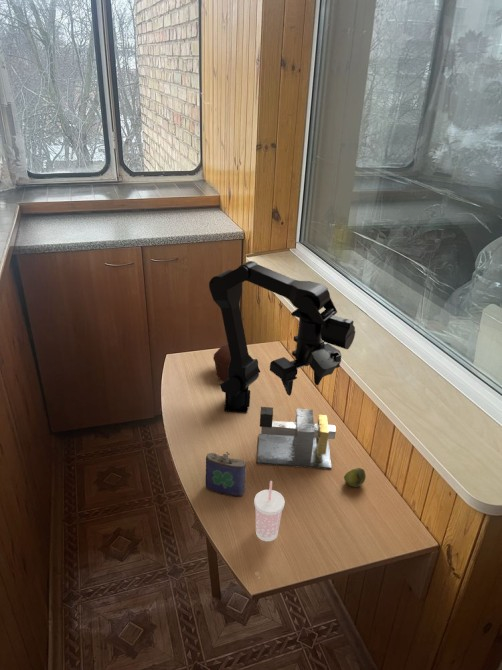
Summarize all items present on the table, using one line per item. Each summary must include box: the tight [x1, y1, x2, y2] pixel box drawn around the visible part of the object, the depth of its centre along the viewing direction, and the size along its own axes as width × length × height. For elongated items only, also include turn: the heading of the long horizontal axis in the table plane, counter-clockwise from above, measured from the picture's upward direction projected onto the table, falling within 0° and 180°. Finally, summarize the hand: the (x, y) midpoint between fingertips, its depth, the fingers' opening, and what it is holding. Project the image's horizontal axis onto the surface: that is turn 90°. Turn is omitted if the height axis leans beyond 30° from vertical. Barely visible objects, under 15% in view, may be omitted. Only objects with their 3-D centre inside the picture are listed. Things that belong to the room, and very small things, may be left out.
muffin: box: [213, 343, 231, 382], centre depth 158 cm, size 12×11×10 cm
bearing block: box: [256, 408, 332, 470], centre depth 127 cm, size 18×11×10 cm, turn 87°
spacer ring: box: [316, 414, 329, 455], centre depth 126 cm, size 2×7×7 cm, turn 177°
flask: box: [204, 451, 247, 498], centre depth 114 cm, size 9×3×11 cm, turn 74°
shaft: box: [259, 406, 337, 440], centre depth 125 cm, size 18×3×6 cm, turn 87°
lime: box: [343, 467, 367, 488], centre depth 119 cm, size 4×5×5 cm
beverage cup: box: [253, 480, 286, 542], centre depth 103 cm, size 6×6×14 cm
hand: (302, 389), depth 130 cm, fingers open, 9 cm apart
